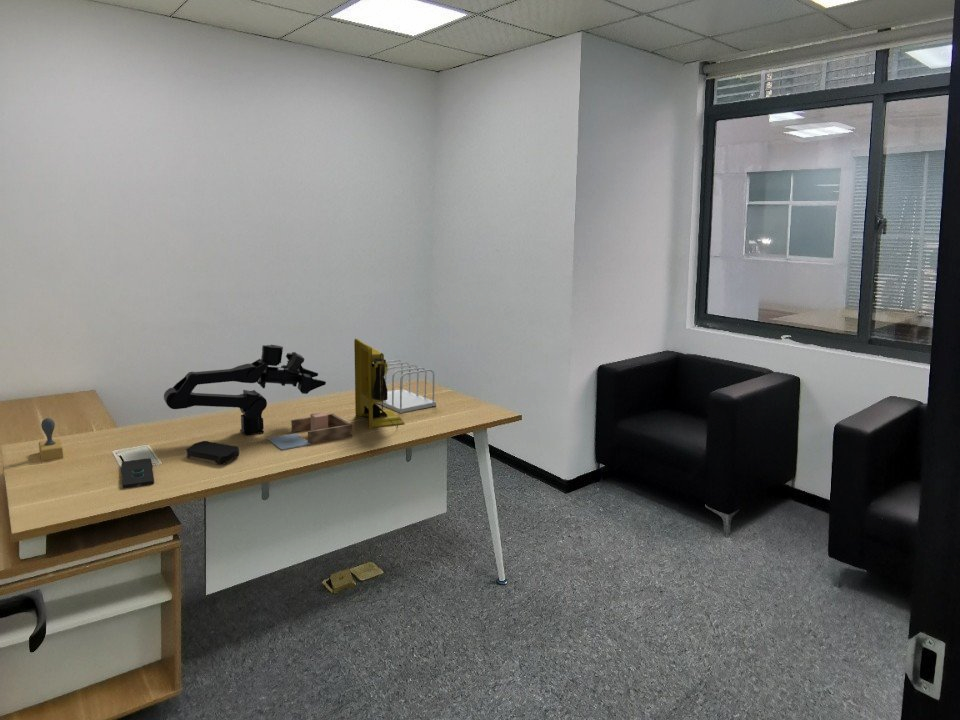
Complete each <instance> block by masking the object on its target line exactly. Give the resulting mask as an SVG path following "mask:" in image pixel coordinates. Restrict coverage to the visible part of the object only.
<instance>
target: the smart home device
mask: <svg viewBox="0 0 960 720" xmlns="http://www.w3.org/2000/svg"><path fill="white" fill-rule="evenodd" d="M152 462H153V461H152V458H151V457H149V458H140V459H133V460H126V461H125V460H124V461H122V462H121V467H120V472H121V473H120V474H121V488H122V489H132V488H138V487H144V486H145V487H147V486H151V485H152V486H153V485H154V484H155V478H154V471H153V468H154V467H153V463H152Z"/></svg>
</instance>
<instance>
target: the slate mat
mask: <svg viewBox="0 0 960 720" xmlns="http://www.w3.org/2000/svg"><path fill="white" fill-rule="evenodd" d="M267 440H268V441H269V442H271V444H273V445H274V446H275V447H277V448H278V449H279V450H280V451H284V450H290V449H297V448H301V446H302V447H307V445H308V446H311V445H312V443H309V442H308V440H307V439H305V438H304V437H302V436H301V435H299V434H298V432H297V433H290V434H286V435H279V436H273V437H267Z"/></svg>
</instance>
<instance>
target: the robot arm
mask: <svg viewBox="0 0 960 720" xmlns="http://www.w3.org/2000/svg"><path fill="white" fill-rule="evenodd" d="M261 351H262V353H261V358H258V359H256V360H255V361H253V362H251V363H245V364H242V365H237V366H234V367H233V368H227V369H226V368H225V369H216V370H215V369H214V370H203V371H189V372H187V373H186V375H185V376H184V377H183V378H181V379H180V380H179V381H178V382H177V383H175V385H173V386H172V387H170V388H168V389H166V390H165V391H164V393H163V400H164V402H165V404H166V405H167V407H168V408H169V409H172V410H181V409H188V408H191V407H195V406H196V407H215V408H219V407H220V408H239V410H240V412H241V413H242V414H241V415H240V425H241V427H240V428H241V429H239V432H241V433H242V434H243V435H244V436H250V435H257V434H263V433H264V432H265V431H264V429H265V426H264V417H262V414H263V411H265V409H266V408H267V406H268V401H267V399H266V397H264V396H263V395H262V394H261V393H260V392H258V391H256V390H255V389H253V390H247V389H243V390H242V393H240V394H223V393H204V392H203V393H202V392H201V393H200V392H194V390H195V388H196V387H197V386H198V385H206V384H207V385H208V384H218V383H228V382H236V383H243V384H256V383H257V384H258V385H260V387H261V388H262V389H265V388H266V384H275V385H277V384H279V385H281V386H282V387H283V386H286V385H291V386H293V387H295V388H296V387H297V389H298V390H299V392H300V393H301V394H302V395H303V394H304V395H308V394H309V393H310V392H311V391H313V390H315V389H318V388H320V387H322V386H326V385H327V384H326V383H327V381H325V380H321V379H316V378H315V377H318V376H319V373H318V372H317V371H313V370H309V369H307V368H304V367H303V365H302V364H303V363H304V362H305V358H304V357H303V355H301V354H300V353H297V352H296V351H292V352H287V353H286V355H285V357H286V359H287V361H286V362H287V363H286V365H285V364H282V365H281V367H280V366H279V365H280V364H281V363H282V359H283V358H282V357H283V351H284V346H281V345H277V344H267V345H264V344H263V345H262V346H261ZM278 366H279V367H278Z"/></svg>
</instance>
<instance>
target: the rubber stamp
mask: <svg viewBox="0 0 960 720" xmlns="http://www.w3.org/2000/svg"><path fill="white" fill-rule="evenodd" d="M40 426H41V429H42V431H43V432H44V434H45V437H46V440H39V442H38V451H39V456H40V460H41V462H42V461H43V462H49V460H50V461H56V460H61V459H64V450H63V449H64V448H63V445H62V441H61V439H60V438H55V439H53V433H54V430H55V427H56V424H55V421H54V420H53V419H52V418H51V417H47V418H44V419H43V420H42V421H41V425H40Z"/></svg>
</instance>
